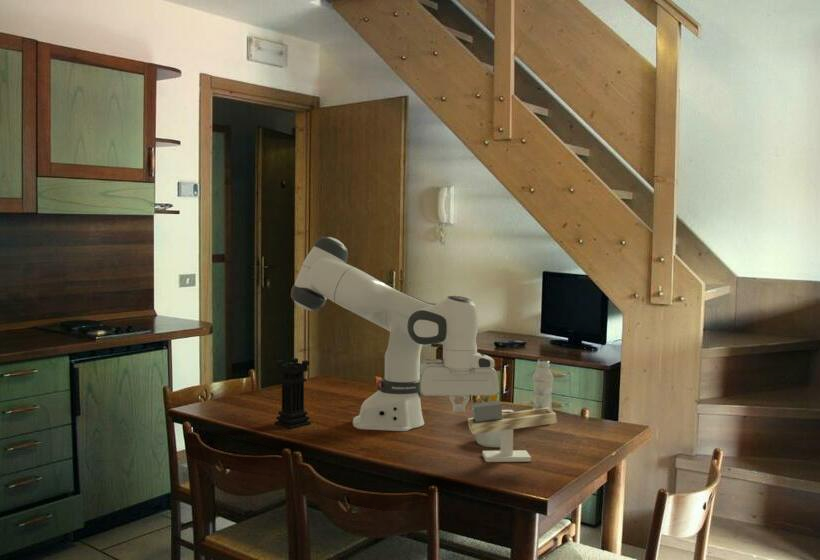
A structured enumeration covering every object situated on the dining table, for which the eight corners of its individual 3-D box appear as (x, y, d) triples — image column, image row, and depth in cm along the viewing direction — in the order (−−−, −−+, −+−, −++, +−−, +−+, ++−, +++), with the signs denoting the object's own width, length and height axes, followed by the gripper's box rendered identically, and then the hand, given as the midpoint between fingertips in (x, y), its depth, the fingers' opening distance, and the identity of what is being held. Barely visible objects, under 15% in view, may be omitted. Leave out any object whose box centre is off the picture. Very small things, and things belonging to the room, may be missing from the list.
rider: (476, 426, 193) (474, 407, 193) (473, 422, 197) (471, 404, 197) (502, 423, 194) (500, 404, 193) (499, 419, 198) (497, 400, 197)
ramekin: (520, 445, 215) (520, 427, 214) (489, 451, 209) (490, 432, 208) (495, 435, 224) (495, 418, 224) (465, 441, 218) (465, 423, 218)
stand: (486, 461, 199) (487, 413, 198) (482, 455, 205) (483, 408, 204) (530, 461, 200) (532, 413, 199) (525, 454, 206) (526, 407, 205)
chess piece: (274, 424, 234) (274, 360, 232) (294, 419, 240) (295, 357, 238) (290, 429, 228) (290, 364, 227) (311, 424, 234) (311, 361, 233)
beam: (472, 434, 192) (471, 424, 192) (468, 426, 199) (467, 416, 199) (556, 422, 193) (555, 412, 193) (549, 415, 201) (548, 405, 200)
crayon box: (478, 418, 244) (479, 383, 244) (487, 417, 245) (487, 382, 245) (488, 423, 238) (489, 387, 237) (497, 423, 239) (497, 387, 238)
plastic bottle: (552, 425, 236) (554, 362, 235) (531, 424, 237) (532, 361, 236) (553, 420, 242) (554, 359, 241) (531, 419, 244) (533, 358, 242)
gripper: (420, 361, 190) (419, 415, 191) (500, 361, 191) (499, 414, 192) (418, 357, 196) (417, 409, 197) (496, 357, 197) (495, 408, 198)
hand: (458, 412), depth 195 cm, fingers closed
